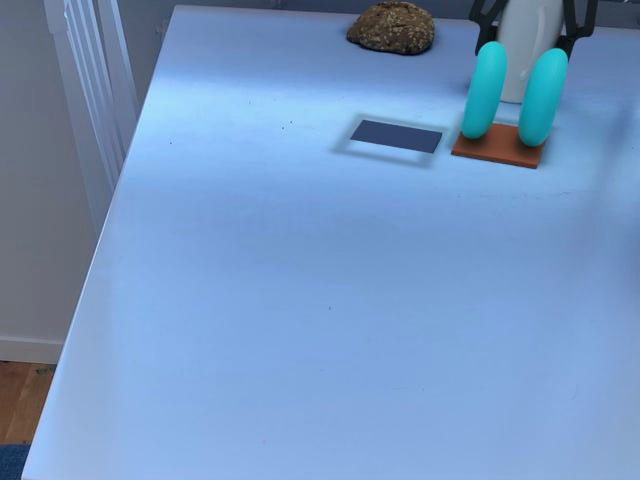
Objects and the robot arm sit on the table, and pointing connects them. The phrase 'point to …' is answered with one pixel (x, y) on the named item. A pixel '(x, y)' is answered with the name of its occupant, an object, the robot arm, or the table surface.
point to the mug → (527, 40)
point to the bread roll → (393, 28)
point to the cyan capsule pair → (537, 97)
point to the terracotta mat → (499, 147)
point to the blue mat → (397, 136)
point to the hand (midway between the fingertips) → (512, 89)
